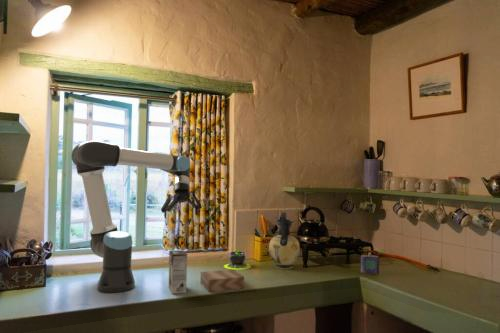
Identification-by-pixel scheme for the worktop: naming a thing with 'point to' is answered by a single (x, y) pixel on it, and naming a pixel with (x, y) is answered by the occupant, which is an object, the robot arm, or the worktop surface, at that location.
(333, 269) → the worktop surface
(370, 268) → the flask
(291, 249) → the amphora
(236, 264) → the toy cauldron
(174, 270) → the coffee box
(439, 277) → the worktop surface
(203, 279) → the walnut base
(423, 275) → the worktop surface
